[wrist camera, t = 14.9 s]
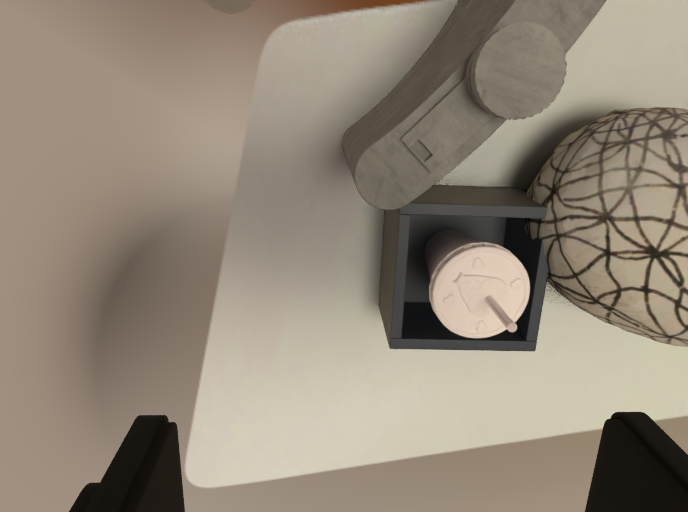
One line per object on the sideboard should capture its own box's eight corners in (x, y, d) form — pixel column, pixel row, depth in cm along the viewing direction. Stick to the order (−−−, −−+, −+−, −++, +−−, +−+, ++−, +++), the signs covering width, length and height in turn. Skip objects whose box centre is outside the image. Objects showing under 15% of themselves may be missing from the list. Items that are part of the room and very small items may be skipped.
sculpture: (596, 357, 46) (719, 474, 32) (466, 191, 41) (543, 239, 27) (746, 251, 43) (954, 326, 29) (627, 61, 38) (807, 37, 24)
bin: (386, 183, 41) (400, 202, 33) (515, 187, 41) (559, 207, 34) (378, 305, 44) (389, 349, 36) (499, 308, 44) (535, 351, 37)
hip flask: (478, -24, 37) (646, -159, 17) (516, 17, 37) (716, -68, 18) (333, 145, 40) (342, 188, 21) (371, 179, 41) (413, 250, 22)
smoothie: (453, 301, 43) (511, 392, 30) (392, 261, 42) (424, 337, 28) (501, 240, 41) (585, 307, 28) (439, 197, 40) (496, 245, 27)
